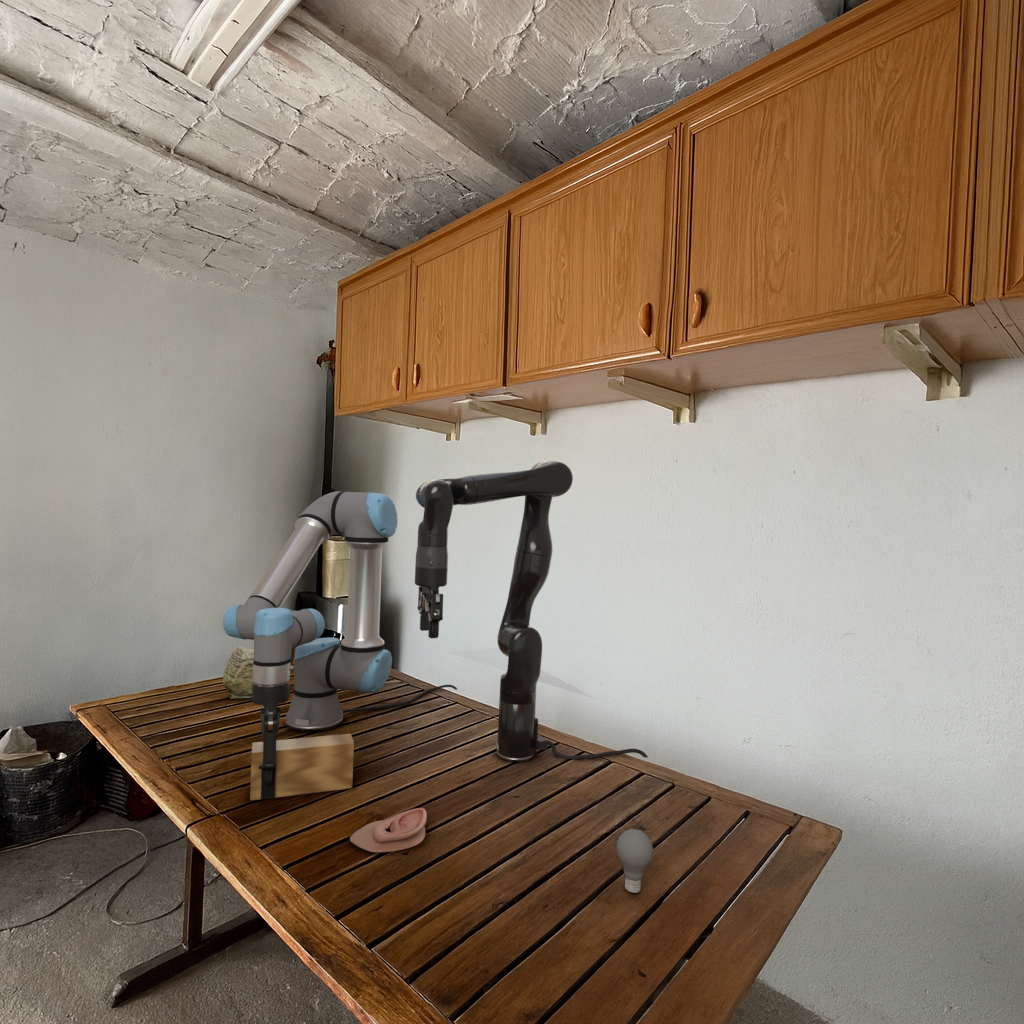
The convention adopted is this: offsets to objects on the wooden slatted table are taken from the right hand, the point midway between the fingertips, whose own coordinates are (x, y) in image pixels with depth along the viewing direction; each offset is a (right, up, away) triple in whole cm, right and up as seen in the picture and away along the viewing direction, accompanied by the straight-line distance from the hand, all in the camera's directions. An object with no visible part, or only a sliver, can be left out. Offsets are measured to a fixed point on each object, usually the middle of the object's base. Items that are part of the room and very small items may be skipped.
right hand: (428, 634), depth 148 cm
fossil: (-61, -29, +50) cm, 84 cm away
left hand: (-33, -31, -14) cm, 47 cm away
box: (-26, -31, -11) cm, 42 cm away
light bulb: (+40, -35, -43) cm, 68 cm away
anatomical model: (-4, -33, -30) cm, 44 cm away
